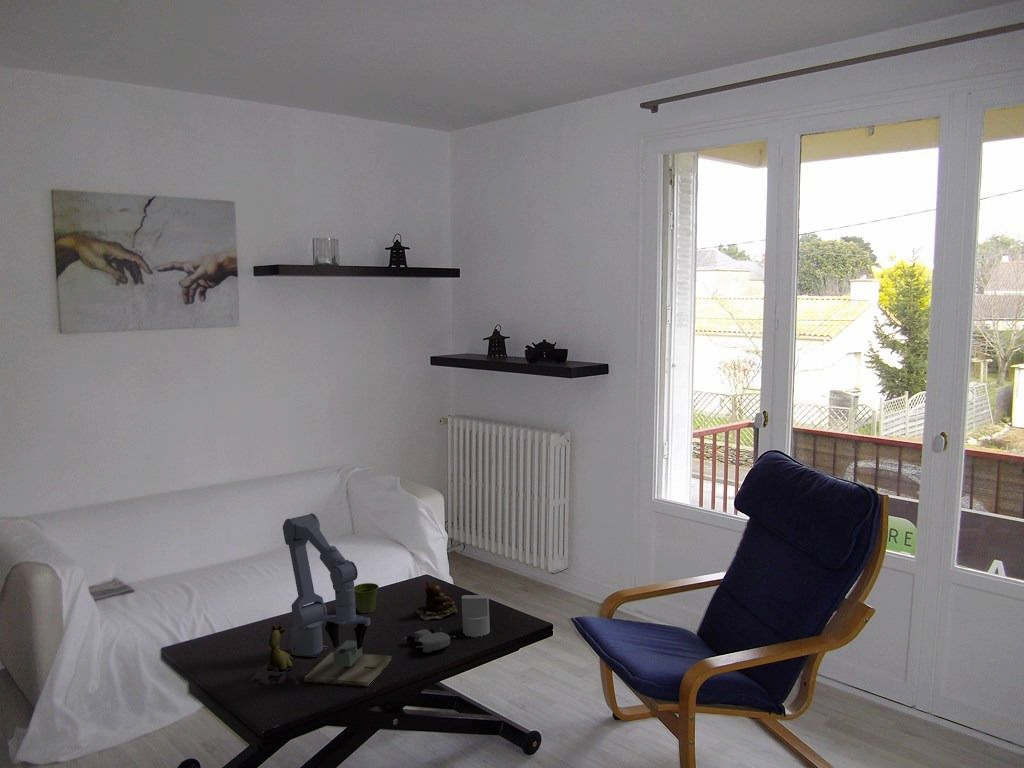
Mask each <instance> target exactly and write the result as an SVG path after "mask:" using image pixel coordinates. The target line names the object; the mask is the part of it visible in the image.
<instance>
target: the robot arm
mask: <svg viewBox="0 0 1024 768" xmlns="http://www.w3.org/2000/svg"><path fill="white" fill-rule="evenodd" d="M282 531H283V539H284V542H285V545H287V546H288V548H289V549H288V550H289V554H290V558H291V565H292V570H293V575H294V580H295V586H296V591H297V597H296V599H295V600H294V601H293V602H292V603H291V606H290V607H291V620H292V624H293V626H292V628H291V630H290V637H289V638H290V652H292V653H300V654H304V655H313V654H317V653H319V652H321V651H322V650H323V647H328V648H329V646H327V645H323V644H324V643H323V628H322V627H323V625H324V624H325V626H324V630H325V631H326V633H327V634H328V636H329V638H330V640H331V643H332V647H333V648H334V649H336V648H338V646H339V644H340V639H339V638H340V637H339V628H340V627H339V626H340V625H341V626H344V625H354V626H356V625H357V626H356V627H354V629H353V630H354V633H355V637H356V641H357V649H361V648H362V649H363V643H364V638H365V634H366V632H367V629H368V627H369V626H370V625H371V617H368V616H367V617H366V616H362V615H358V614H357V613H356V608H357V607H356V597H355V590H354V586H355V581H356V580H357V578H358V568H357V566H356V564H355V563H354V562H353V561H351V560H349V559H346V558H345V557H344V555H342V553H341V552H340V551H339V550H338V547H336V546H335V545H330V543H329V542H328V541H327V539H326V537H325V536H324V534H323V533H322V531H321V523H320V520H319V518H318V516H316V514H315V513H309V514H306V515H300V516H296V517H291V518H286V519H285V520H284V521H283V525H282ZM308 542H309V543H310V544H311V545H312V546H313V547H314V548H315V549H316V550H317V552H319V559H320V561H321V562H322V564H323V565H324V566H325V568H326V569H327V570H328V572H329V578H330V581H331V584H332V588H333V591H334V596H335V614H331V615H330V614H329V615H327V614H328V611H327V607H326V604H325V603H324V598H323V596H321V595H319V594H316V592H315V589H314V583H313V578H312V572H311V566H310V561H309V557H308V551H307V550H308V549H307V547H306V546H307V543H308ZM295 649H296V650H295ZM325 649H326V648H325ZM326 650H327V649H326ZM319 654H320V653H319Z"/></svg>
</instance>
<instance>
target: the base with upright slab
mask: <svg viewBox="0 0 1024 768" xmlns="http://www.w3.org/2000/svg"><path fill="white" fill-rule="evenodd" d="M489 597H490V596H489V595H488V594H487V595H486V594H485V595H483V594H482V595H481V594H479V595H477V594H473V595H471V594H466V595H465V594H464V595H462V596H461V614H462V619H461V620H462V633H464V634H465V636H467V637H469V636H471V637H470V638H479V637H478V636H481V637H483V635H485V636H487V635H488V634H489V633H491V630H490V628H491V626H490V602H489V601H490V600H489V599H490V598H489ZM464 634H463V635H464ZM486 634H487V635H486Z"/></svg>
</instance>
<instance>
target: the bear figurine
mask: <svg viewBox="0 0 1024 768" xmlns="http://www.w3.org/2000/svg"><path fill="white" fill-rule="evenodd" d="M425 585H426V587H425V589H424V590H425V594H426V597H425V605H424V606H423V605H420V606H418V607H417V610H416V609H415V610H414V611H415V613H416V614H417V615H419V617H420V618H421V619H422V620H423V619H424V620H427V621H429V620H433V619H438V620H442V619H443V618H444V617H446V616H448V615H451V614H454V613H458V612H459V610H458V609H457V606H456V605H455V603H456V602H455V601H454V600H453V599H452V598H451V597H449V596H447V595H445V593H444V592H441V591H442V587H440V585H434V584H430V583H429V582H428V581H427V582H426V583H425ZM424 620H423V621H424Z"/></svg>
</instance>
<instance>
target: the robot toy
mask: <svg viewBox="0 0 1024 768" xmlns="http://www.w3.org/2000/svg"><path fill="white" fill-rule="evenodd" d="M451 638H456V635H452V636H451V635H450V634H448V633H446V632H435V629H433V628H430V629H425V628H424V629H420V630H417V631H415V632H414V635H407V636H404V637H403V641H406V642H407V643H414V642H415V645H416V646H415V647H416V649H418V650H420V651H422V652H423V653H426V654H430V653H432V652H434V651H437V650H442V649H444V648H446V647H448V646H449V645H450V644H451V642H452V639H451Z"/></svg>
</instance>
